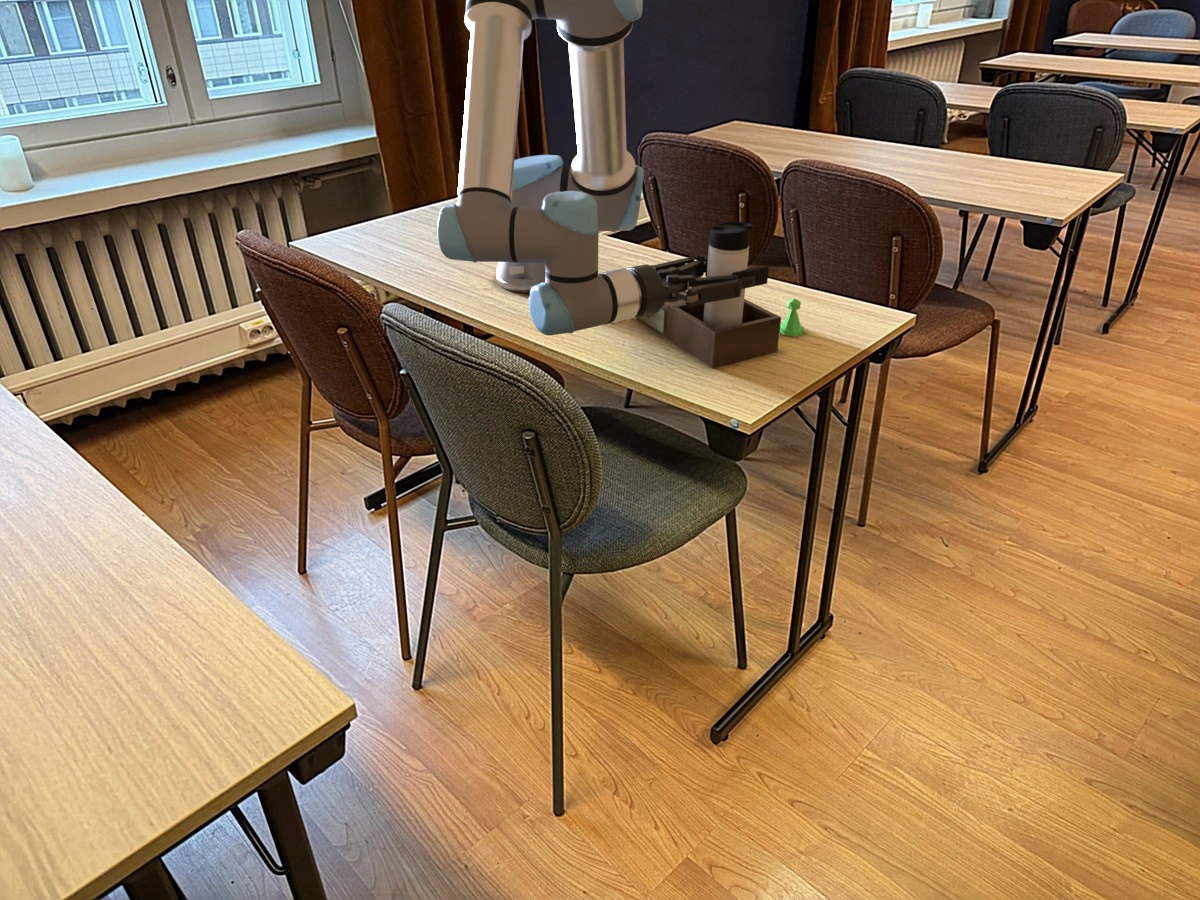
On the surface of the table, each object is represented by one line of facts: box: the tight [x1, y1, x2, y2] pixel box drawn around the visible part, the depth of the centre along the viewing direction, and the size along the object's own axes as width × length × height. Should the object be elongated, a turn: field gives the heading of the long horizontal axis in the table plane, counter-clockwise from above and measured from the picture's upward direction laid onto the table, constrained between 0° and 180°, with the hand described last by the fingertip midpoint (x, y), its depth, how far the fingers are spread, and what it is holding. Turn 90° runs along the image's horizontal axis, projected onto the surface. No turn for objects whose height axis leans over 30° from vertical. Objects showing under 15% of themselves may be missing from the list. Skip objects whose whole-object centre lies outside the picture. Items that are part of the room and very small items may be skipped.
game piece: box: [779, 298, 805, 337], centre depth 145 cm, size 4×4×6 cm
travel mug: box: [703, 221, 754, 330], centre depth 136 cm, size 6×7×20 cm
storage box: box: [635, 276, 782, 369], centre depth 143 cm, size 23×14×6 cm, turn 29°
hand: (752, 268), depth 137 cm, fingers closed on travel mug, 6 cm apart
